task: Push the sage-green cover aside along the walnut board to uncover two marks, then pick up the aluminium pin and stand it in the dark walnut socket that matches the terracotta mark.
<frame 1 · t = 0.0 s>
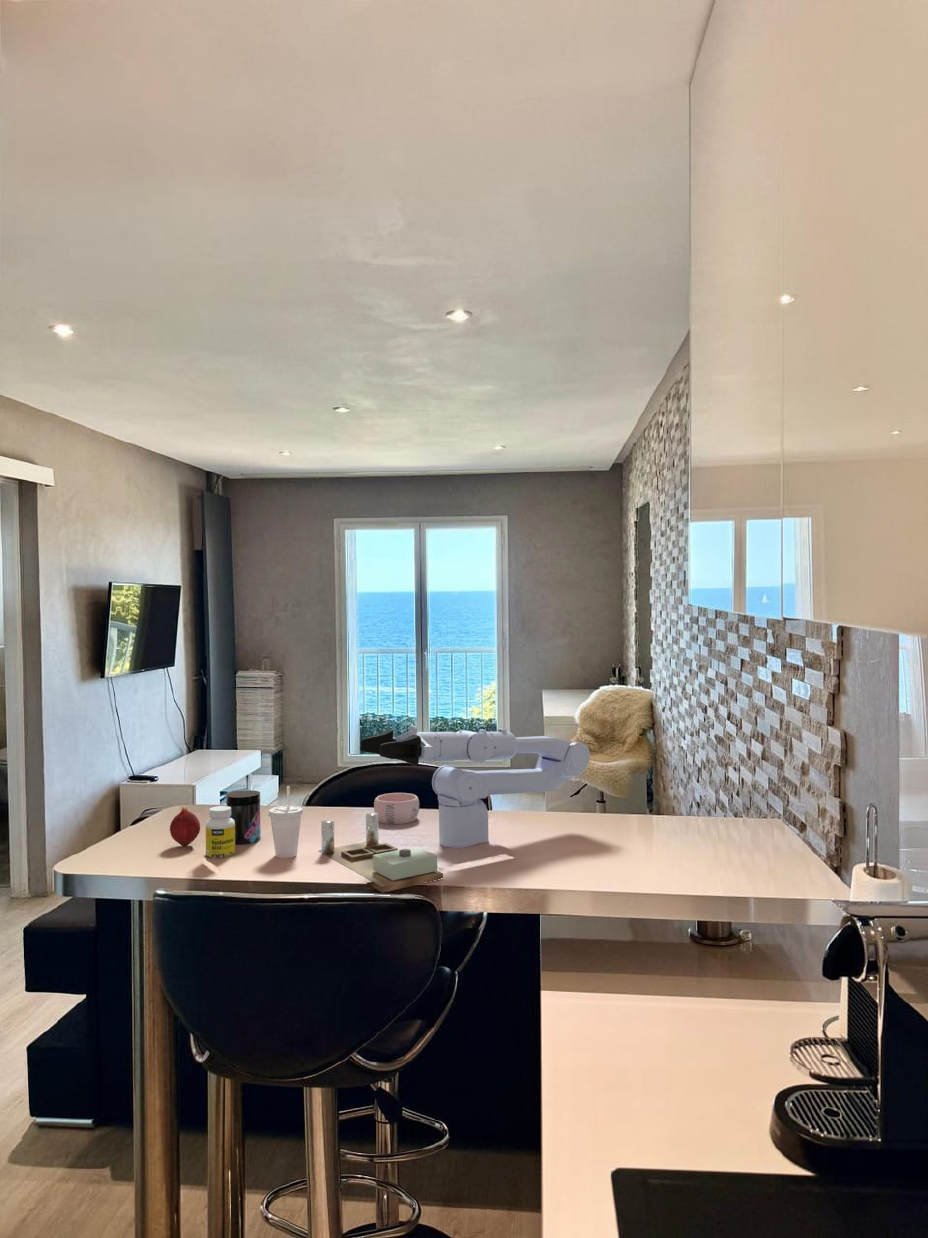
hand: (370, 747, 156), 22 cm above the worktop, tool horizontal, fingers open, 7 cm apart
pin a: (328, 852, 160), point 1 cm above the worktop, touching board
board: (377, 867, 154), on the worktop
pink bowl: (397, 823, 187), on the worktop
pin b: (372, 844, 166), point 1 cm above the worktop, touching board
supplement container: (243, 846, 170), on the worktop
cover: (405, 860, 148), point 3 cm above the worktop, slide at 0.0 cm
smoothie: (286, 861, 159), on the worktop
onion: (185, 847, 169), on the worktop
supplement bottle: (220, 860, 160), on the worktop
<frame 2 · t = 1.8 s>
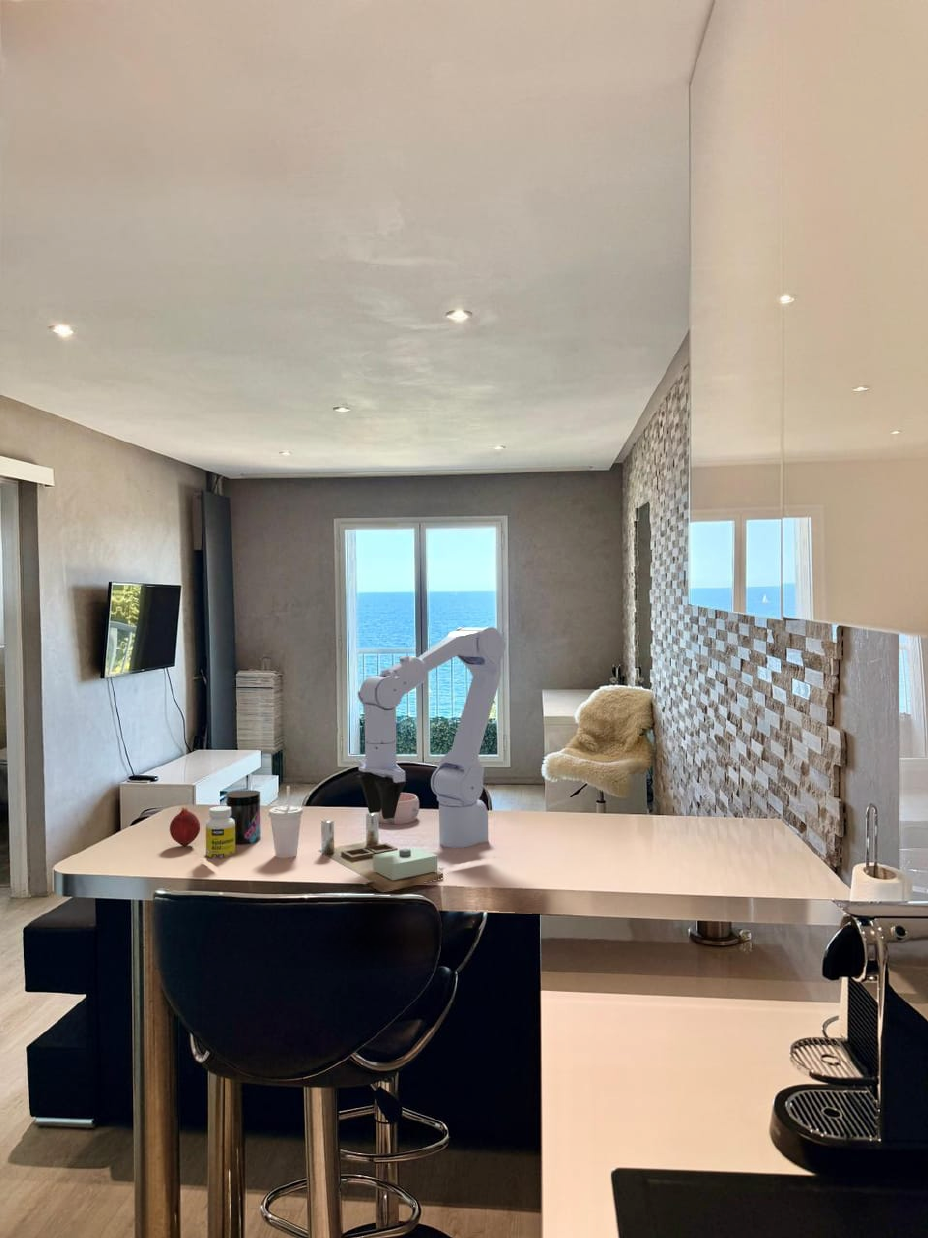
hand: (381, 815, 155), 9 cm above the worktop, tool pointing down, fingers open, 5 cm apart
nothing on the worktop moved.
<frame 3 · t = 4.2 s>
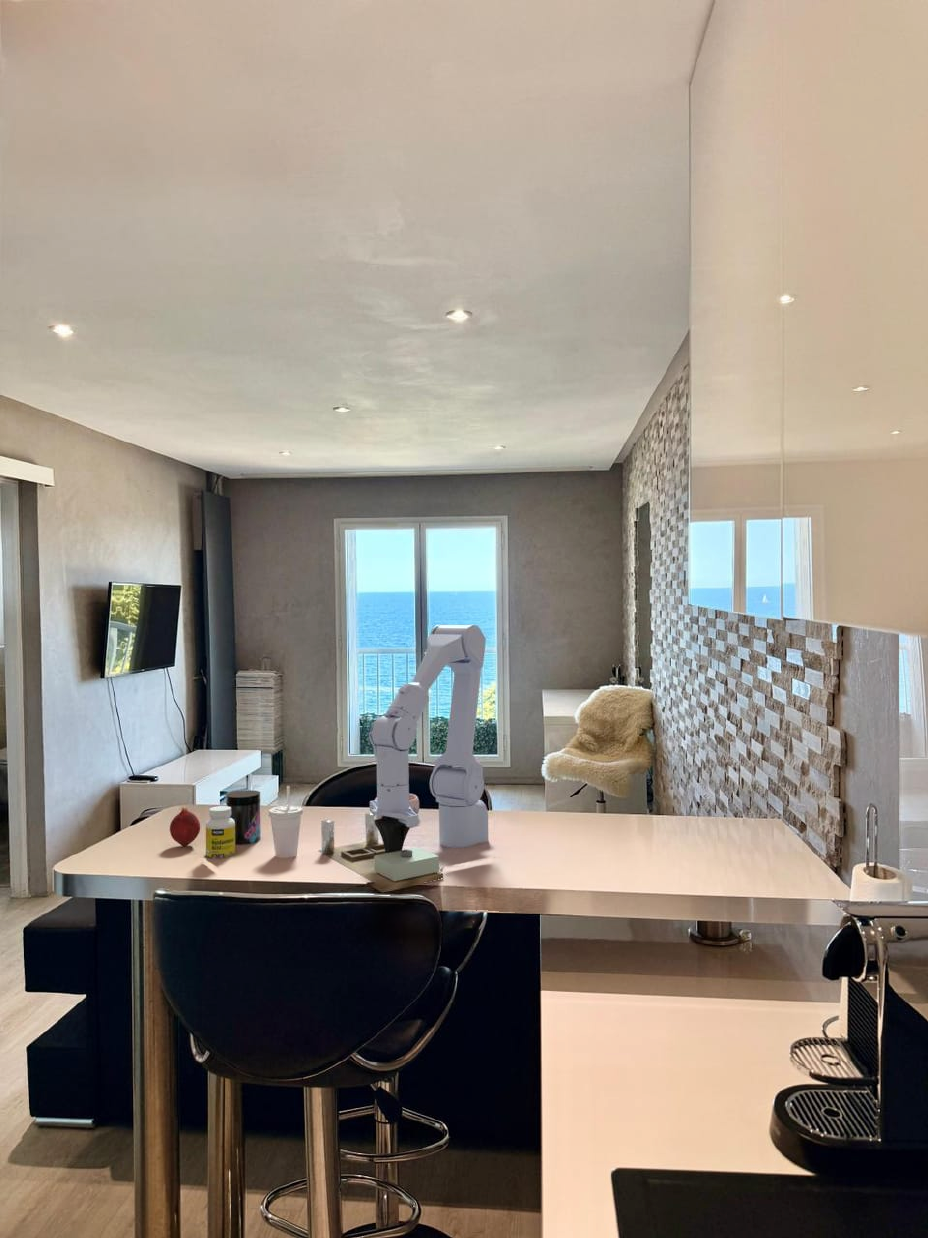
hand: (393, 858, 151), 2 cm above the worktop, tool pointing down, fingers closed
cover: (406, 861, 147), point 3 cm above the worktop, slide at 0.5 cm, touching gripper
everything else where it was.
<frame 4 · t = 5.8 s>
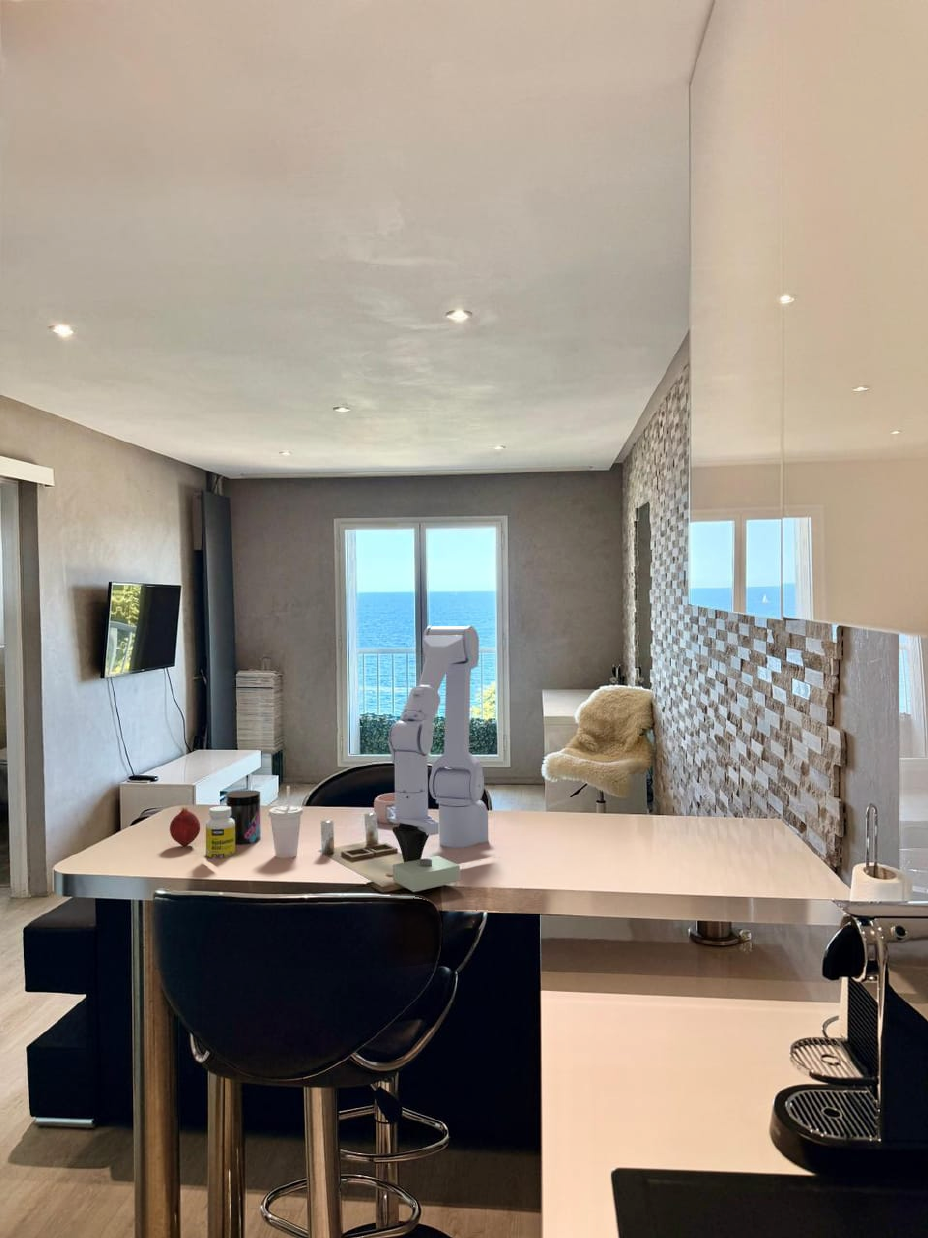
hand: (412, 867, 146), 2 cm above the worktop, tool pointing down, fingers closed
cover: (426, 870, 142), point 3 cm above the worktop, slide at 7.1 cm, touching gripper
everything else where it was.
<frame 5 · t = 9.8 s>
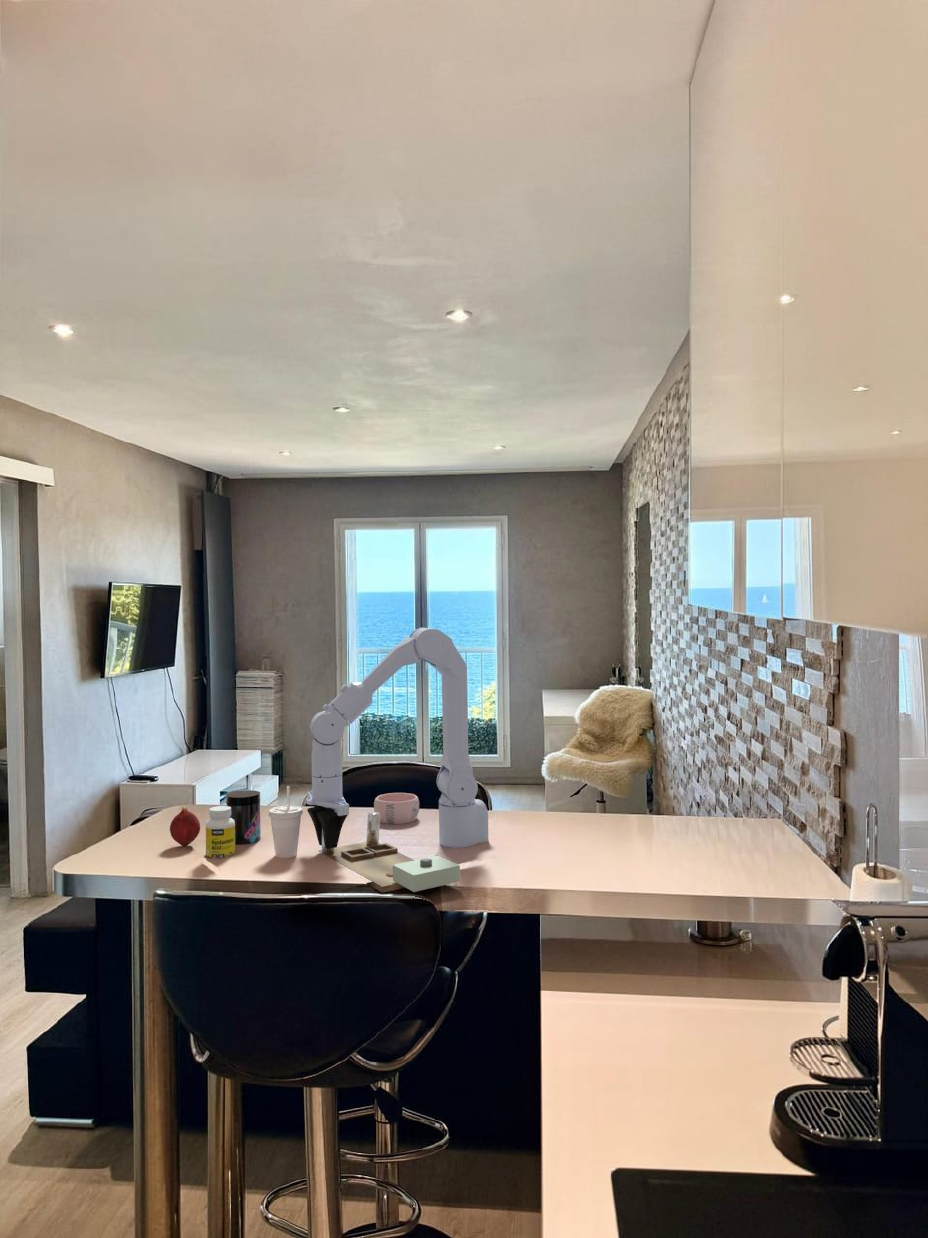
hand: (328, 846, 160), 2 cm above the worktop, tool pointing down, fingers closed on pin a, 2 cm apart
pin a: (328, 852, 160), point 1 cm above the worktop, touching board, gripper
cover: (426, 870, 142), point 3 cm above the worktop, slide at 7.1 cm
everything else where it was.
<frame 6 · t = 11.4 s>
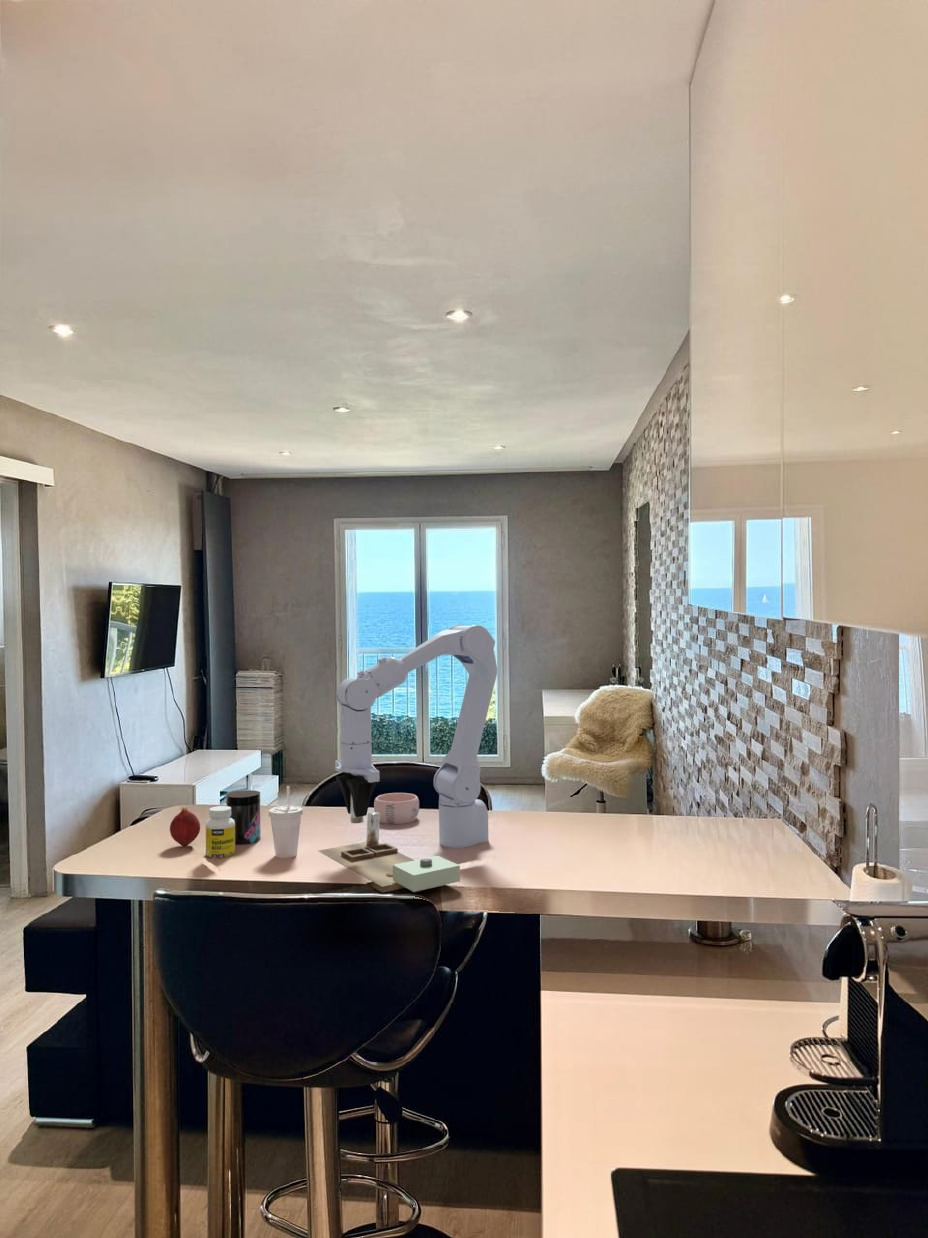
hand: (357, 814, 158), 9 cm above the worktop, tool pointing down, fingers closed on pin a, 2 cm apart
pin a: (356, 821, 158), point 8 cm above the worktop, touching gripper
everything else where it was.
when the fingers open (3 cm above the worktop, at t = 13.0 s): pin a stays where it is, resting on board.
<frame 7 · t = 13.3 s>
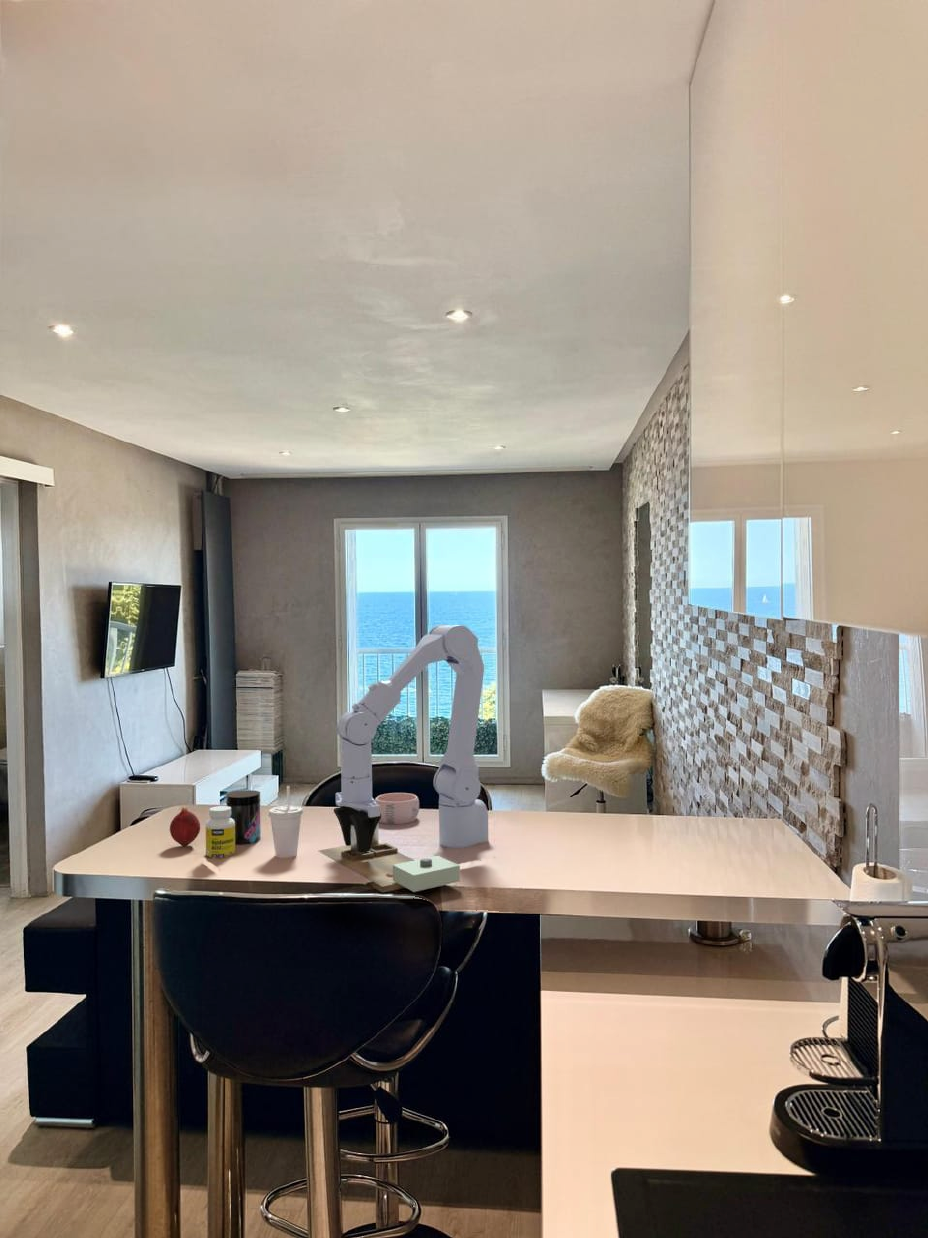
hand: (357, 848, 158), 3 cm above the worktop, tool pointing down, fingers open, 5 cm apart
pin a: (357, 856, 158), point 1 cm above the worktop, touching board
everything else where it was.
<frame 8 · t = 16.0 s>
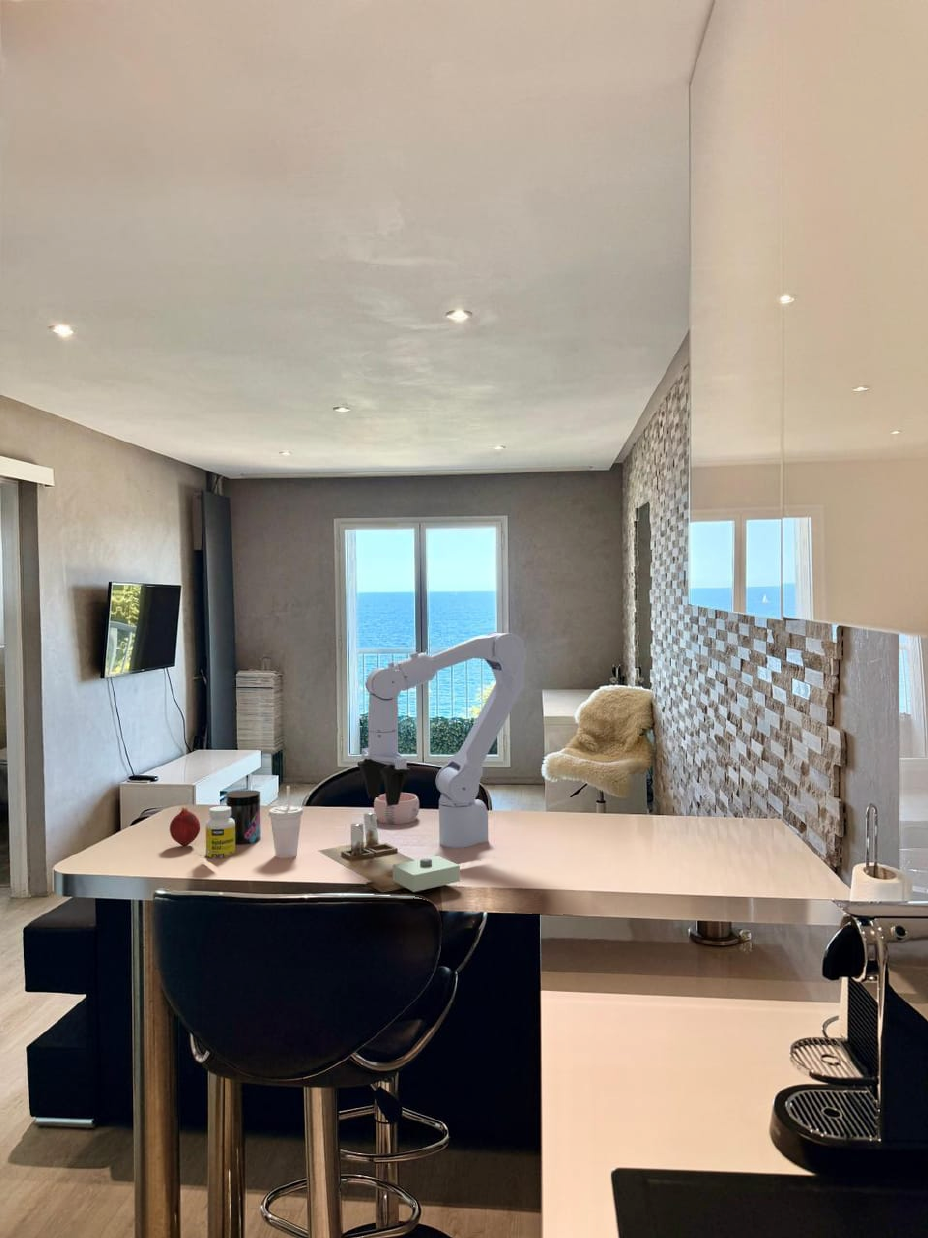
hand: (383, 801, 162), 10 cm above the worktop, tool pointing down, fingers open, 7 cm apart
nothing on the worktop moved.
at the end: cover slide at 7.1 cm; pin a 0.1 cm from the target spot on the board, point 1.0 cm above the board's base; pin a tilted 0° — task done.
